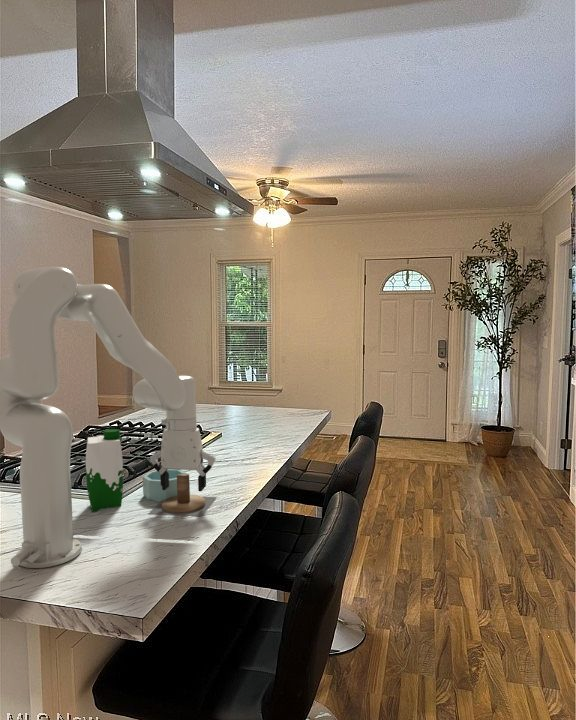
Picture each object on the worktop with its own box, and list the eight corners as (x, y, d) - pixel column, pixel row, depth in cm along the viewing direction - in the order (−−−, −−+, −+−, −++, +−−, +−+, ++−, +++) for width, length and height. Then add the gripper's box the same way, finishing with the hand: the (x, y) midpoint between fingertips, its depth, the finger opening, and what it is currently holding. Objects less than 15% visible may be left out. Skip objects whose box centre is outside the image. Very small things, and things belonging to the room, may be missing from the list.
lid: (197, 513, 133) (197, 482, 132) (155, 512, 134) (154, 481, 134) (210, 498, 144) (209, 469, 143) (171, 497, 145) (170, 468, 145)
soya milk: (125, 508, 139) (122, 433, 137) (87, 513, 135) (84, 436, 134) (122, 498, 147) (120, 426, 145) (87, 502, 144) (84, 429, 142)
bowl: (177, 503, 142) (177, 481, 141) (138, 502, 143) (137, 480, 143) (191, 490, 153) (190, 469, 152) (154, 488, 154) (153, 468, 154)
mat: (202, 518, 131) (202, 516, 131) (147, 516, 133) (147, 514, 133) (217, 499, 145) (217, 497, 145) (167, 497, 147) (167, 495, 147)
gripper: (143, 426, 135) (146, 492, 136) (210, 427, 132) (211, 495, 134) (155, 420, 142) (157, 483, 144) (218, 421, 140) (219, 485, 141)
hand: (183, 489), depth 139 cm, fingers open, 9 cm apart
